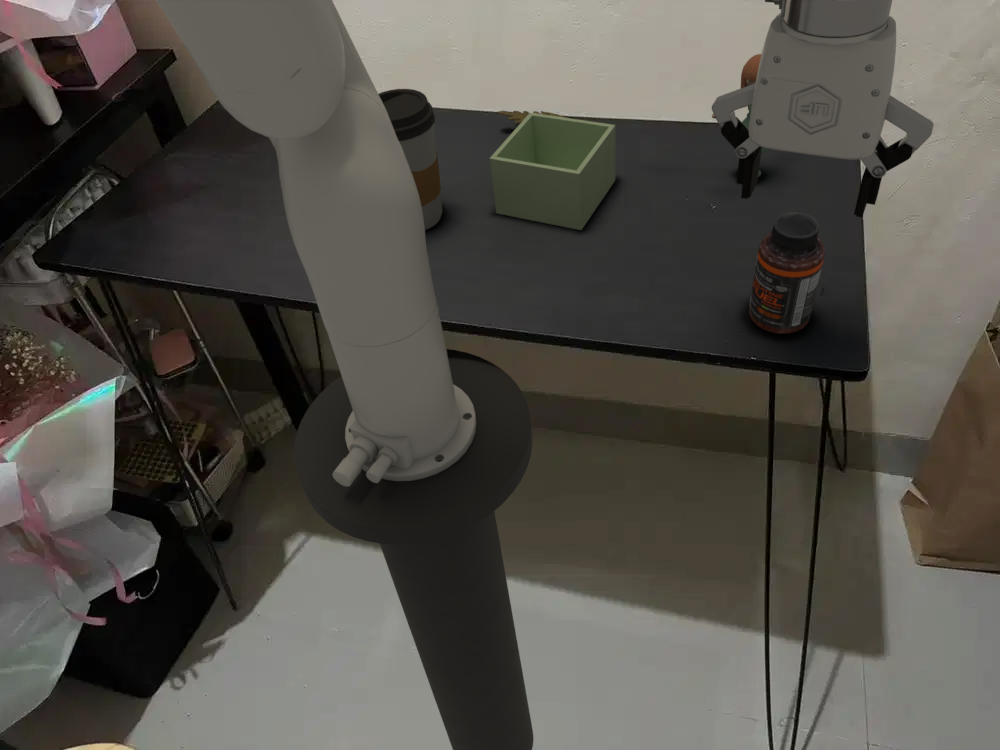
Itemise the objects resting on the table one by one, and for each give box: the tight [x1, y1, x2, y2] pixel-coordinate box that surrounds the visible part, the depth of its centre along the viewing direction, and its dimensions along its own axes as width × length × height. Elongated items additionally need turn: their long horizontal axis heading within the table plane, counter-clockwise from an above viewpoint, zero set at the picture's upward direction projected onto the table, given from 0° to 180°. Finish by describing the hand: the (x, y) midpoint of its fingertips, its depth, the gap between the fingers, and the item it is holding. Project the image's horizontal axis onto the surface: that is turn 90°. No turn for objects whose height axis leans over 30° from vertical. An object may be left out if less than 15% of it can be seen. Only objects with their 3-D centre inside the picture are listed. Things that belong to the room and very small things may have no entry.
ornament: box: [497, 110, 569, 125], centre depth 113 cm, size 10×2×15 cm
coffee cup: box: [378, 88, 443, 231], centre depth 97 cm, size 8×8×15 cm
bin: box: [489, 112, 616, 231], centre depth 100 cm, size 11×11×8 cm
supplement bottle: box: [748, 211, 826, 335], centre depth 80 cm, size 6×6×11 cm
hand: (803, 199), depth 74 cm, fingers open, 9 cm apart
